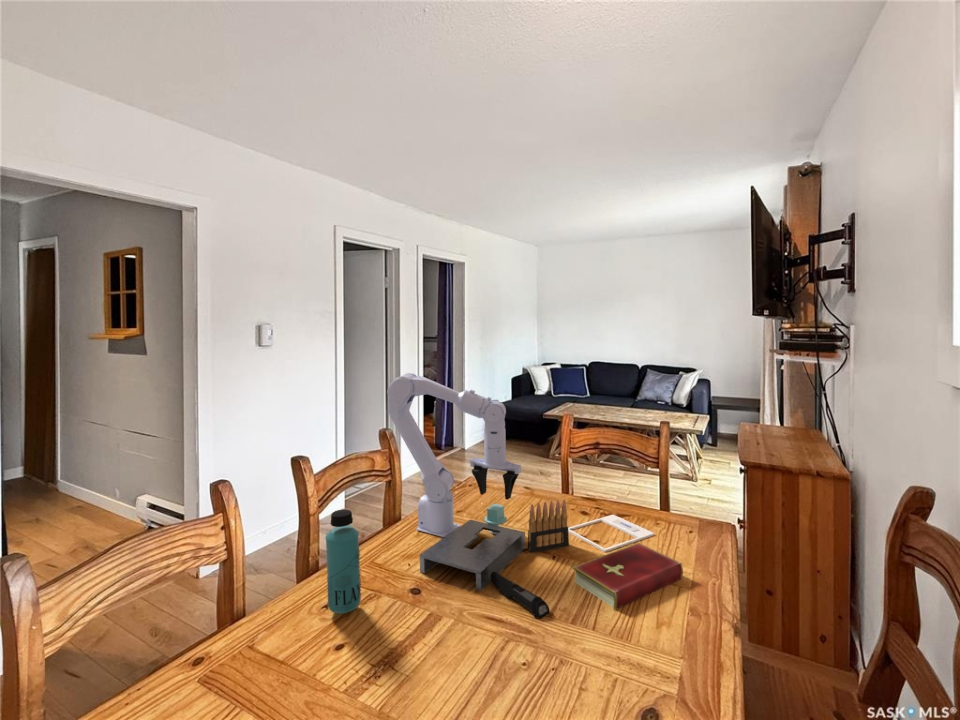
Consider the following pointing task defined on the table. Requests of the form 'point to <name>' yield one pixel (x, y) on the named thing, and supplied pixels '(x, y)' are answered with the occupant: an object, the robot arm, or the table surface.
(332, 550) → the beverage bottle
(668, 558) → the hardcover book
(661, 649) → the table surface
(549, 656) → the table surface
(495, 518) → the peg
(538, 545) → the ammunition clip
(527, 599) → the electric trimmer
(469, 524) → the keyhole plate
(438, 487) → the robot arm
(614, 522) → the photo frame
